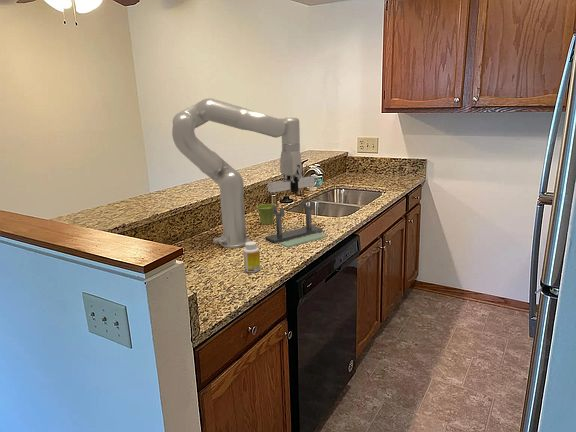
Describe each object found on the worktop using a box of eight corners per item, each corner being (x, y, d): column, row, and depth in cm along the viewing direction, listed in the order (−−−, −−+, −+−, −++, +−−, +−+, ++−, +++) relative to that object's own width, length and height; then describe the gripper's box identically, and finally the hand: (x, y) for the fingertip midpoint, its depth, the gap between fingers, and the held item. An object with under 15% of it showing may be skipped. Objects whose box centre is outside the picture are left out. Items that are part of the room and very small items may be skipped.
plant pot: (272, 226, 211) (272, 208, 209) (254, 225, 214) (253, 208, 212) (279, 221, 220) (278, 204, 217) (262, 220, 223) (261, 203, 220)
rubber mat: (287, 247, 180) (287, 246, 180) (280, 244, 185) (280, 243, 185) (327, 236, 192) (327, 235, 192) (319, 234, 196) (319, 232, 196)
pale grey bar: (272, 192, 182) (272, 183, 181) (267, 191, 185) (267, 182, 184) (314, 185, 194) (314, 177, 194) (309, 184, 197) (309, 176, 196)
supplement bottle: (263, 269, 158) (262, 242, 156) (252, 274, 155) (250, 246, 152) (253, 266, 162) (251, 239, 160) (241, 270, 158) (239, 243, 156)
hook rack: (274, 244, 186) (272, 210, 182) (265, 240, 191) (263, 207, 187) (322, 231, 200) (321, 200, 196) (312, 228, 205) (312, 197, 202)
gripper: (272, 147, 190) (273, 189, 195) (295, 150, 177) (296, 195, 181) (286, 145, 194) (287, 187, 199) (310, 148, 181) (310, 192, 186)
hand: (291, 190), depth 190 cm, fingers closed on pale grey bar, 3 cm apart
